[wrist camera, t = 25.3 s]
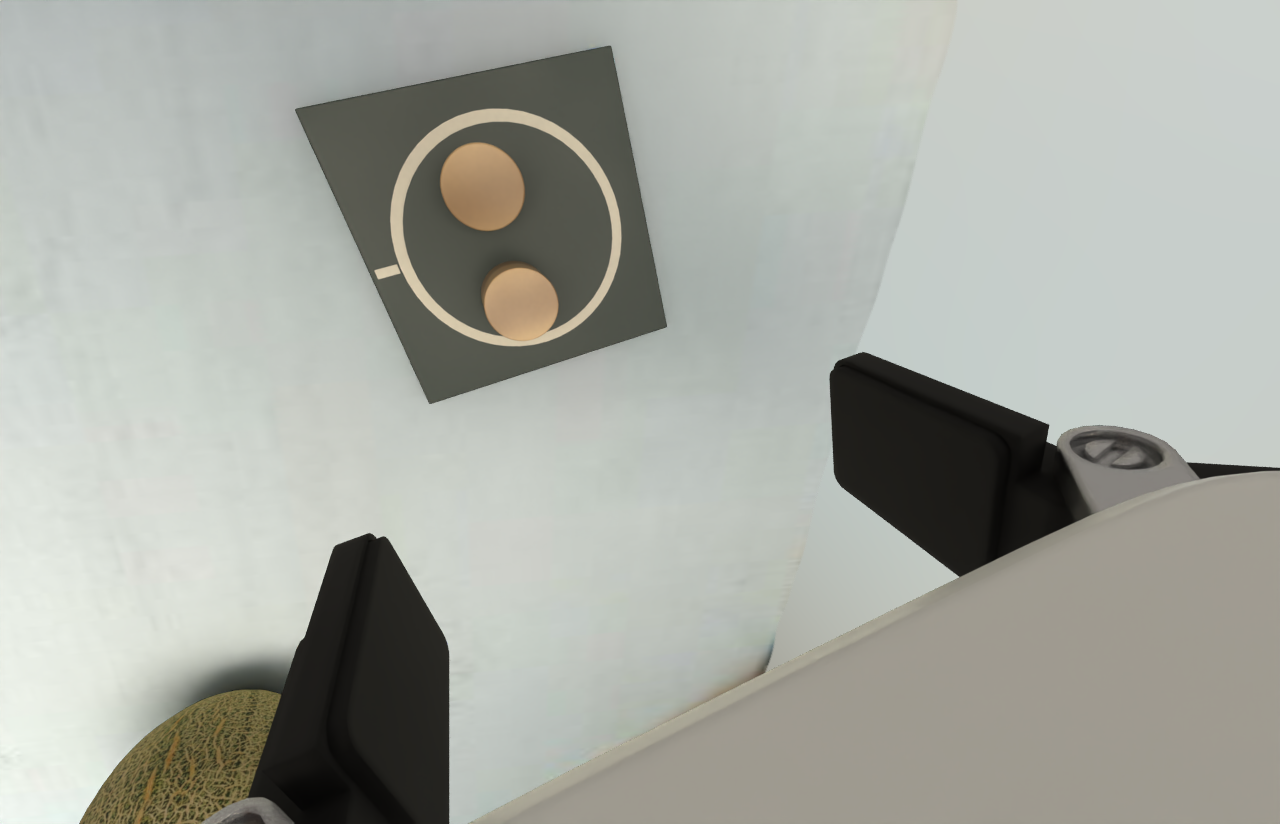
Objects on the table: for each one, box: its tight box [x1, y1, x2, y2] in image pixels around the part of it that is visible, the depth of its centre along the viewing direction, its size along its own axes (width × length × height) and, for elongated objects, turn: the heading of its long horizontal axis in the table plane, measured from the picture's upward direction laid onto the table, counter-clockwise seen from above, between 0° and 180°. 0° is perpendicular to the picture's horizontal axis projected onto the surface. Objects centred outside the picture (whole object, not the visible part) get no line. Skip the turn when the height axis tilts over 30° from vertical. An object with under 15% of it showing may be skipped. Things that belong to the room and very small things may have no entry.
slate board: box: [295, 46, 667, 404], centre depth 30 cm, size 16×16×1 cm
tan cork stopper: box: [481, 261, 559, 341], centre depth 29 cm, size 4×4×3 cm
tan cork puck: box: [440, 142, 525, 231], centre depth 26 cm, size 4×4×3 cm
